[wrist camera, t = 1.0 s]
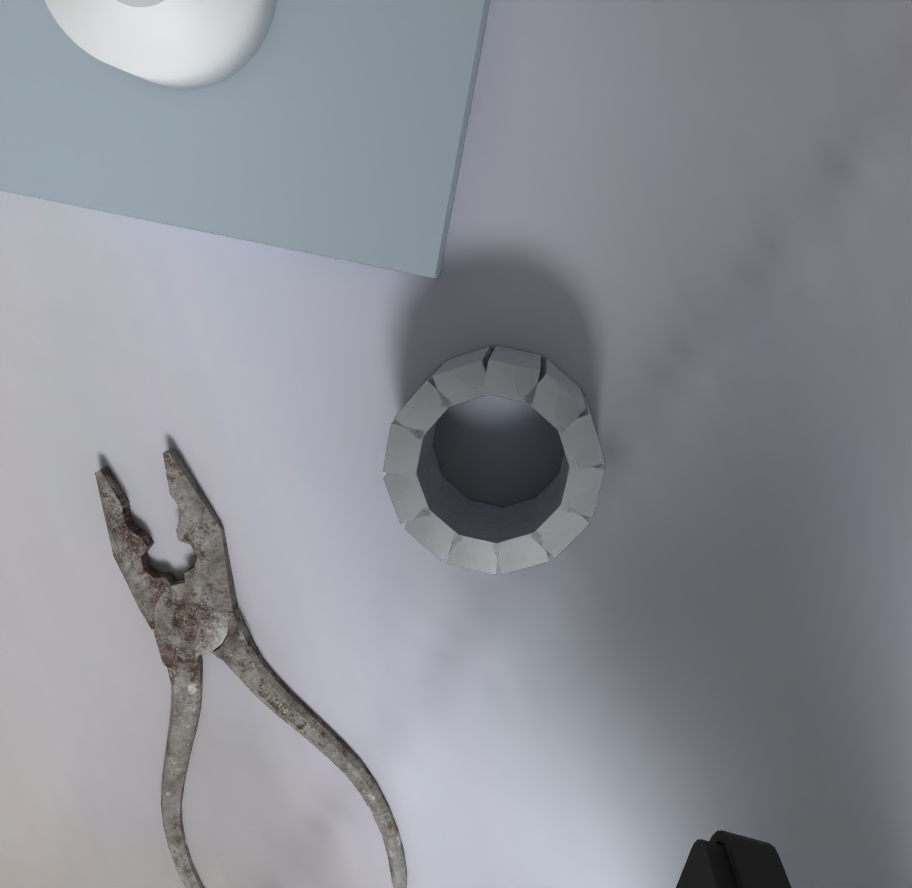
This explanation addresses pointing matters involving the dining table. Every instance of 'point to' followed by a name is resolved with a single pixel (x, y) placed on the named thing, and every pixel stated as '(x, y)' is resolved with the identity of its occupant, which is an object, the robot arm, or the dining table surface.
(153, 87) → the piston block
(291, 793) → the dining table surface
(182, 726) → the pliers
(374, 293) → the dining table surface
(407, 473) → the ring
